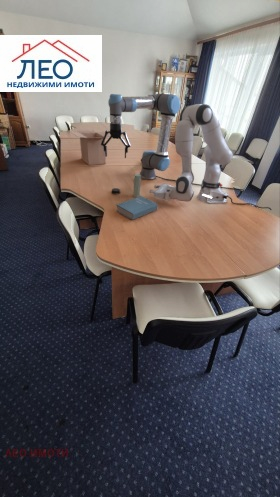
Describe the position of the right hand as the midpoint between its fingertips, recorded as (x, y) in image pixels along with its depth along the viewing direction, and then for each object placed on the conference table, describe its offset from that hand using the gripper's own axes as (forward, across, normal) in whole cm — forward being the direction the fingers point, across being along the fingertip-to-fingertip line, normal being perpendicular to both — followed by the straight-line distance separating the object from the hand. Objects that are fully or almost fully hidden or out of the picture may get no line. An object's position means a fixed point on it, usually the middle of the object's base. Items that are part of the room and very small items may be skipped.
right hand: (152, 188), depth 162 cm
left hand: (+28, +2, -19) cm, 34 cm away
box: (+89, -60, +8) cm, 108 cm away
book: (+2, +24, +8) cm, 25 cm away
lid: (+29, +3, +6) cm, 29 cm away
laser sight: (+33, -86, +9) cm, 92 cm away
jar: (+12, 0, +8) cm, 15 cm away
